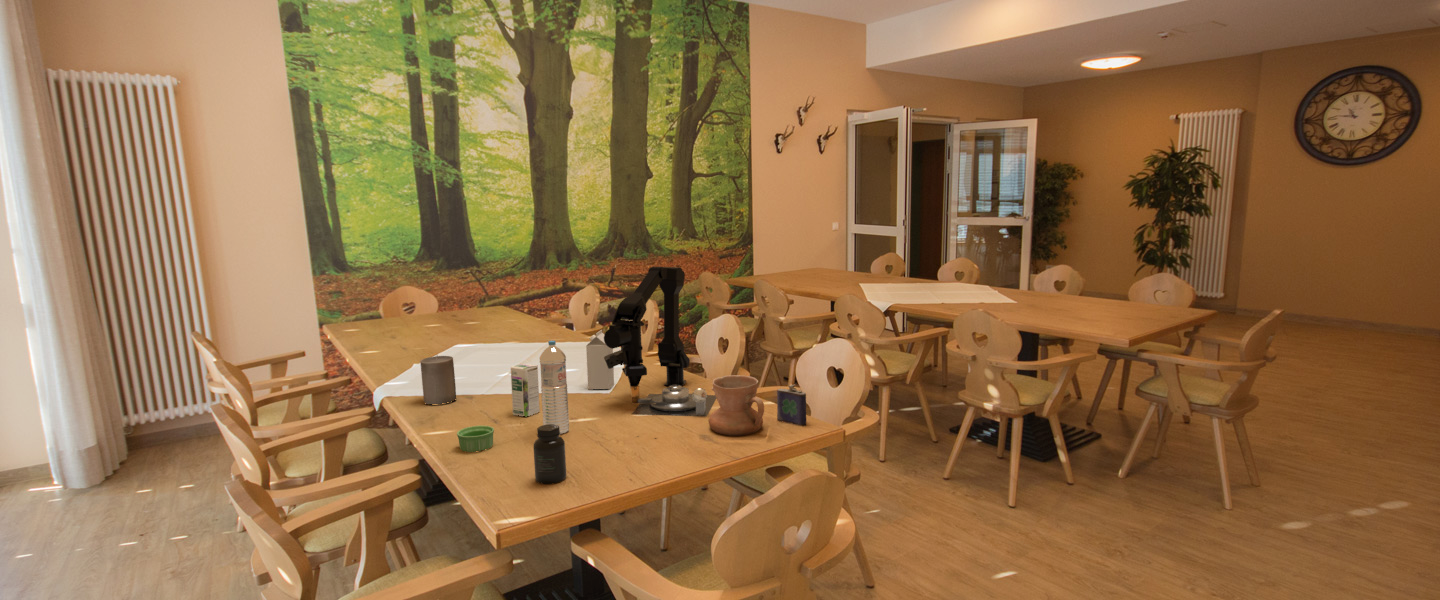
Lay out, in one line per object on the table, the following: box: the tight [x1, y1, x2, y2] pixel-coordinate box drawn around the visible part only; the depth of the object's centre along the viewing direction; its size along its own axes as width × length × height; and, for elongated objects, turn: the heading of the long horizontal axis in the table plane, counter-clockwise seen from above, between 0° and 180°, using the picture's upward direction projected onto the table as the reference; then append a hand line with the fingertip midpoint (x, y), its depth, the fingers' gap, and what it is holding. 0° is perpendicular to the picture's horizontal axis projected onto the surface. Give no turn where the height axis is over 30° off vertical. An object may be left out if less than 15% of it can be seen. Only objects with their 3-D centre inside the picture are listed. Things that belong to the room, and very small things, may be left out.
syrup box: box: [510, 363, 541, 418], centre depth 210 cm, size 6×6×14 cm
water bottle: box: [539, 340, 570, 435], centre depth 192 cm, size 7×7×25 cm
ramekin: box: [456, 424, 495, 453], centre depth 183 cm, size 9×9×4 cm
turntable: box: [630, 385, 696, 411], centre depth 215 cm, size 16×22×5 cm
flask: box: [776, 384, 807, 427], centre depth 198 cm, size 9×3×11 cm, turn 50°
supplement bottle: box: [533, 424, 567, 485], centre depth 160 cm, size 7×7×12 cm
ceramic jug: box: [708, 374, 765, 437], centre depth 190 cm, size 18×14×14 cm
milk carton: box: [585, 329, 615, 390], centre depth 238 cm, size 7×7×19 cm
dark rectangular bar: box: [691, 387, 708, 416], centre depth 203 cm, size 3×4×8 cm
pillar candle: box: [419, 354, 457, 405], centre depth 225 cm, size 10×10×15 cm
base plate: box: [630, 393, 717, 417], centre depth 215 cm, size 22×22×1 cm
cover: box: [661, 385, 690, 404], centre depth 214 cm, size 8×8×4 cm
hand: (633, 392), depth 220 cm, fingers closed
